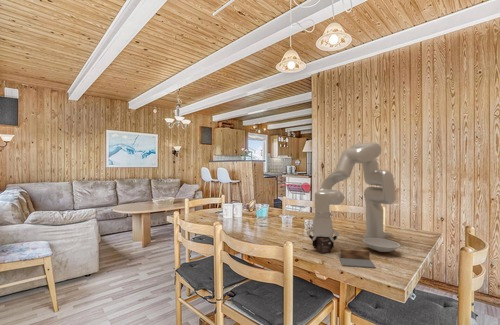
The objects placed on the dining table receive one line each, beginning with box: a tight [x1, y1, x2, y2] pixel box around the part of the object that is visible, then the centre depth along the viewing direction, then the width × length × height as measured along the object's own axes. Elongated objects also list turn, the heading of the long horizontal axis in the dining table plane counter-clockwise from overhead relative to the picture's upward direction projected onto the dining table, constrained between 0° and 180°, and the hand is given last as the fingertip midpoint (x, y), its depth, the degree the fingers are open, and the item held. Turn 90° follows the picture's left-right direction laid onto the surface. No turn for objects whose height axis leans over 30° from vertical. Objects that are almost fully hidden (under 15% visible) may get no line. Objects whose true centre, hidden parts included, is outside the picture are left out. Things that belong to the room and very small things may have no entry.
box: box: [314, 237, 332, 254], centre depth 133 cm, size 6×6×7 cm
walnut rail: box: [339, 248, 370, 260], centre depth 122 cm, size 13×2×4 cm, turn 79°
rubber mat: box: [337, 253, 377, 269], centre depth 120 cm, size 14×14×1 cm
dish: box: [362, 238, 401, 253], centre depth 132 cm, size 18×14×5 cm
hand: (322, 247), depth 133 cm, fingers closed on box, 8 cm apart
